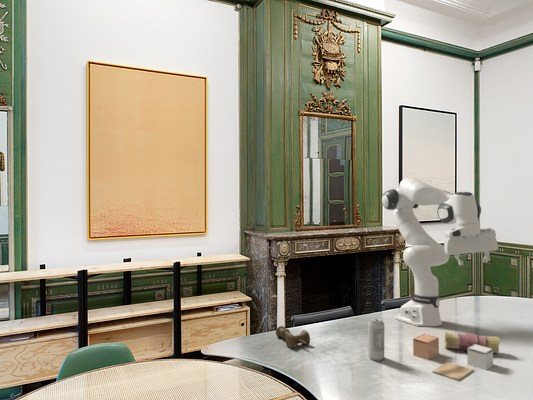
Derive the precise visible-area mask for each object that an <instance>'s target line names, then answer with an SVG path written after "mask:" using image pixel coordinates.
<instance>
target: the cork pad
mask: <svg viewBox="0 0 533 400" xmlns="http://www.w3.org/2000/svg"><path fill="white" fill-rule="evenodd" d="M473 371H474V369H472V368H469V367H465V366H462V365H459V364H456V363H452V362H449V361H447V362H445V363H444V364H442V365H440V366H439V367H437V368H435V369H434V370H432V373H433V374H436V375H438V376H439V375H440V376H442V377H445V378H448V379H451V380H453V381H457V382H460V381H461V380H463V378H465V377H467V376H468V375H470V374H471V373H473Z"/></svg>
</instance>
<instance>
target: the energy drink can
mask: <svg viewBox="0 0 533 400" xmlns="http://www.w3.org/2000/svg"><path fill="white" fill-rule="evenodd" d="M383 321H384V320H383V319H382V318H379V317H371V318H369V321H368V323H367V324H368V326H367V327H368V329H367V330H368V331H367V332H368V333H367V334H368V336H367V338H368V345H367V346H368V347H367V348H368V349H367V351H368V354H367V355H368V357H369V359H370V360H372V361H377V362H380V361H383V360H384V358H385V323H384V322H383Z"/></svg>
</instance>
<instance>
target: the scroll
mask: <svg viewBox="0 0 533 400" xmlns="http://www.w3.org/2000/svg"><path fill="white" fill-rule="evenodd" d="M500 339H501V338H500V337H499V336H485V335H477V334H474V333H465V334H463V333H460V332H459V333H458V332H457V333H453V332H446V331H444V341H443V342H444V344H443V345H444V348H445V349H458V350H465V352H467V353H468V348H469V347H470V346H472V345H474V344H477V345H481V346H484V347H488V348H492V349H493V353H496V354H498V353H500V351H499V349H500V348H499V347H500V343H501V342H500V341H501V340H500Z"/></svg>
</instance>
